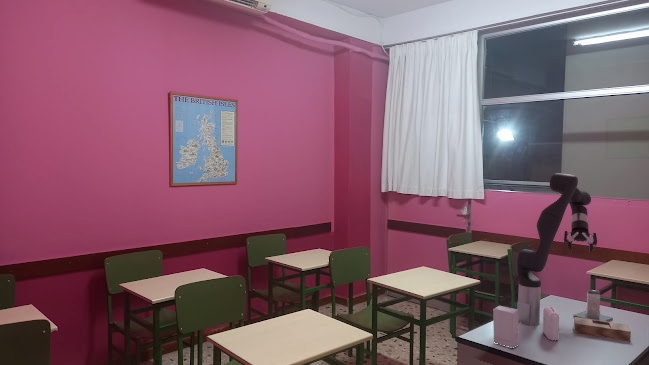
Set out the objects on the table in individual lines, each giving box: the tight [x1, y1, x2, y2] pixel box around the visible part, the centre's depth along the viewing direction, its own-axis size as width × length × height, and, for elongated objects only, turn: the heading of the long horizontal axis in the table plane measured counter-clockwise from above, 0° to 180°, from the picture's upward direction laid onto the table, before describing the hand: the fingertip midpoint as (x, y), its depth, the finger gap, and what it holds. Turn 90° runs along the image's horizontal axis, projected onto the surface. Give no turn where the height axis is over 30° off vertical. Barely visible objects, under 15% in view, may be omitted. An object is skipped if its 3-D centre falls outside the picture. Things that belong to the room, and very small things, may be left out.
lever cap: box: [585, 289, 601, 319], centre depth 213 cm, size 5×6×12 cm
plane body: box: [573, 317, 632, 342], centre depth 195 cm, size 20×9×4 cm, turn 64°
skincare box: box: [492, 305, 520, 348], centre depth 182 cm, size 8×6×15 cm
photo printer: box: [542, 305, 560, 341], centre depth 191 cm, size 10×4×12 cm, turn 169°
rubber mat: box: [572, 310, 614, 322], centre depth 213 cm, size 12×12×1 cm
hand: (580, 250), depth 220 cm, fingers open, 8 cm apart
